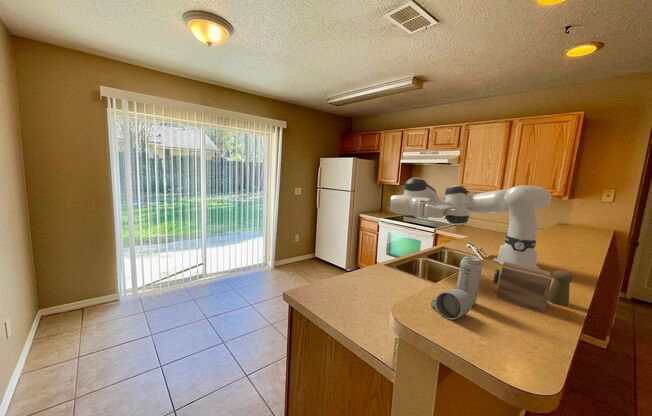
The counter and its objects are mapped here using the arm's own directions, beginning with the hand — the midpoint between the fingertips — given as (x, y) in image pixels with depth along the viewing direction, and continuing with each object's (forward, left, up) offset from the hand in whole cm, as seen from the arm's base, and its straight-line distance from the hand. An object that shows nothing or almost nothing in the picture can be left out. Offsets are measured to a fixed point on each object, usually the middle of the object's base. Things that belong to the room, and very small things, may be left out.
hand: (460, 213), depth 107 cm
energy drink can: (+23, +9, -26) cm, 36 cm away
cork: (-3, +34, -26) cm, 43 cm away
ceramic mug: (+34, +6, -26) cm, 44 cm away
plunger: (+6, +22, -22) cm, 32 cm away
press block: (+6, +23, -26) cm, 35 cm away
